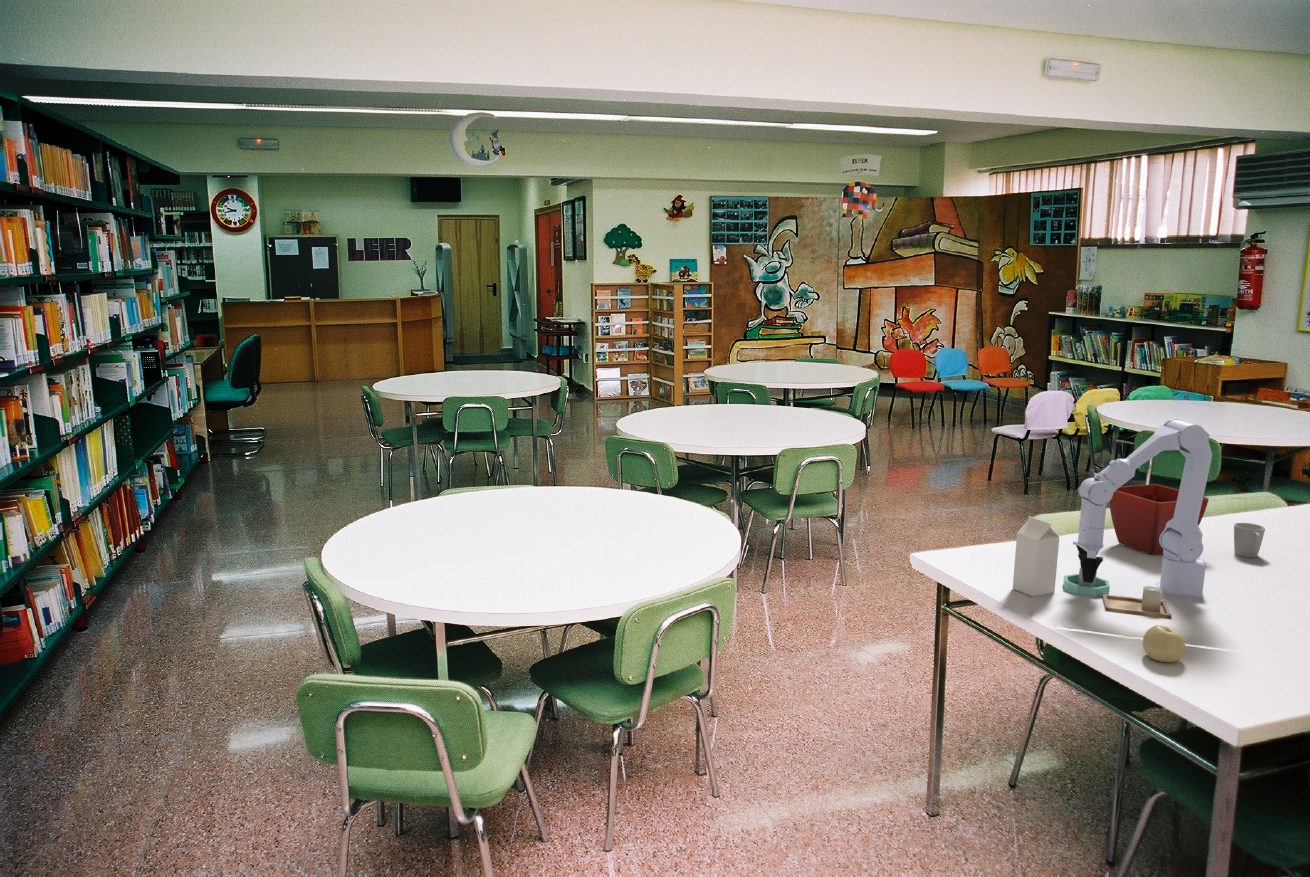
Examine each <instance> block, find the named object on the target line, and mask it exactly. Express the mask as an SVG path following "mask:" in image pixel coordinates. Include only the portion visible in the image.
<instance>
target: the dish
mask: <svg viewBox="0 0 1310 877" xmlns="http://www.w3.org/2000/svg"><path fill="white" fill-rule="evenodd" d="M1078 580H1079V573H1072V574H1068V575H1064V576H1063V590H1065V591H1067V592H1070V593H1073V594H1075V595H1078V596H1086V597H1094V598H1097V597H1098V598H1099V597H1102V594H1108V595H1110V590H1111V589H1110V583H1109V580H1107V579H1103V578H1101V577H1099V576H1096V585H1095V587H1087V586H1079V585H1078Z"/></svg>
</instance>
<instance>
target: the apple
mask: <svg viewBox="0 0 1310 877" xmlns="http://www.w3.org/2000/svg"><path fill="white" fill-rule="evenodd" d="M1142 638H1143V639H1142V648H1143V650H1144V652H1145V654H1146V655H1147V656H1148V658H1150V659H1152V660H1154V661H1157V662H1162V663H1174V662H1177V661H1179V660H1181V658H1182V657H1183V656H1184V654H1185V652H1186V642H1185V639H1184V636H1183V635H1182V634H1181V632H1179V631H1178V630H1176V629H1174V628H1171V627H1169V626H1165V625H1161V624H1160V625H1159V624H1156V625H1154V626H1152V627H1150V628H1148V629H1147V630H1146V631H1145V633H1144V635H1143V637H1142Z"/></svg>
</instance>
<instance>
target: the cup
mask: <svg viewBox="0 0 1310 877" xmlns="http://www.w3.org/2000/svg"><path fill="white" fill-rule="evenodd" d="M1265 532H1266V528H1265V526H1262V525H1259V524H1256V523H1251V522H1237V523H1234V524H1233V542H1234V543H1233V544H1234V546H1233V548H1234V551H1233V552H1234V554H1235V555H1237V556H1240V557H1244V558H1257V557H1258V556H1259V553H1260V550H1261V546H1262V544H1263V538H1264V535H1265Z"/></svg>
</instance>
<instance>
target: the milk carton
mask: <svg viewBox="0 0 1310 877" xmlns="http://www.w3.org/2000/svg"><path fill="white" fill-rule="evenodd" d="M1051 525H1052V524H1051V522H1048V521H1045V520H1043V519H1040V518H1036V517H1032V516H1030V515H1028V517H1027V521H1026V522H1025V523H1024V524H1023V525H1022V527H1020V529H1018V531H1017V532H1016V543H1015V553H1014V555H1015V556H1014V565H1013V566H1014V567H1013V577H1012V578H1013V580H1012V589H1014V590H1016V591H1018V592H1020V593H1023V594H1024V595H1027V596H1030V597H1031V598H1032V597H1037V596H1042V595H1048V594H1052V593H1053V594H1054V593H1055V590H1056V589H1055V588H1056V581H1057V580H1056V579H1057V569H1058V557H1059V548H1060V547H1059V546H1060V544H1059V543H1060V536H1059V534H1057V533H1056V532H1055V531H1054V530H1053V529H1052V528H1051Z"/></svg>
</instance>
